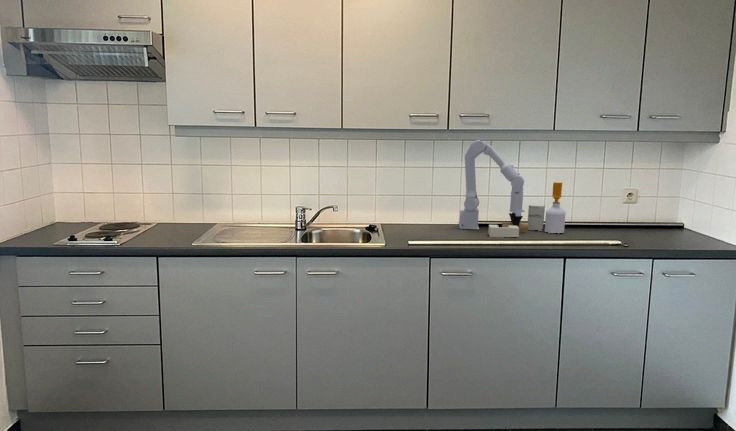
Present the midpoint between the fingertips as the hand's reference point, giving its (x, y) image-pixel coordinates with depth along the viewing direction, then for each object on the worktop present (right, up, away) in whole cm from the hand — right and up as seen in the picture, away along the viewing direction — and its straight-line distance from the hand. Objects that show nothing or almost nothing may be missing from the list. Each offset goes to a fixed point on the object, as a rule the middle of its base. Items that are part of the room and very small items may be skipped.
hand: (514, 228), depth 268 cm
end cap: (-8, -3, -11) cm, 14 cm away
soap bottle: (+19, -2, 0) cm, 19 cm away
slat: (0, -1, 0) cm, 2 cm away
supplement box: (+12, -1, +6) cm, 13 cm away
